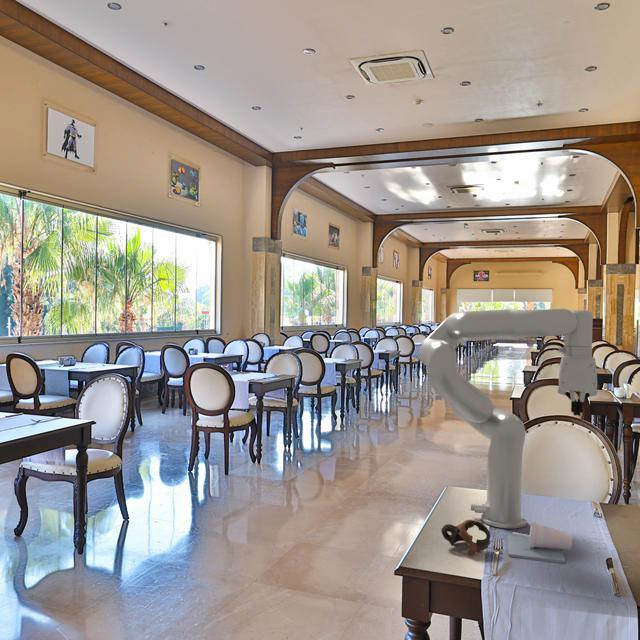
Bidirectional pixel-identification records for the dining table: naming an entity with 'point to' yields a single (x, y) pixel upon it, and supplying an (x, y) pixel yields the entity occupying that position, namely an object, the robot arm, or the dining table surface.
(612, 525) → the dining table surface
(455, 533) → the brown twisted looped piece
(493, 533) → the dining table surface
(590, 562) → the dining table surface
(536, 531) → the smoothie
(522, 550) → the mat
